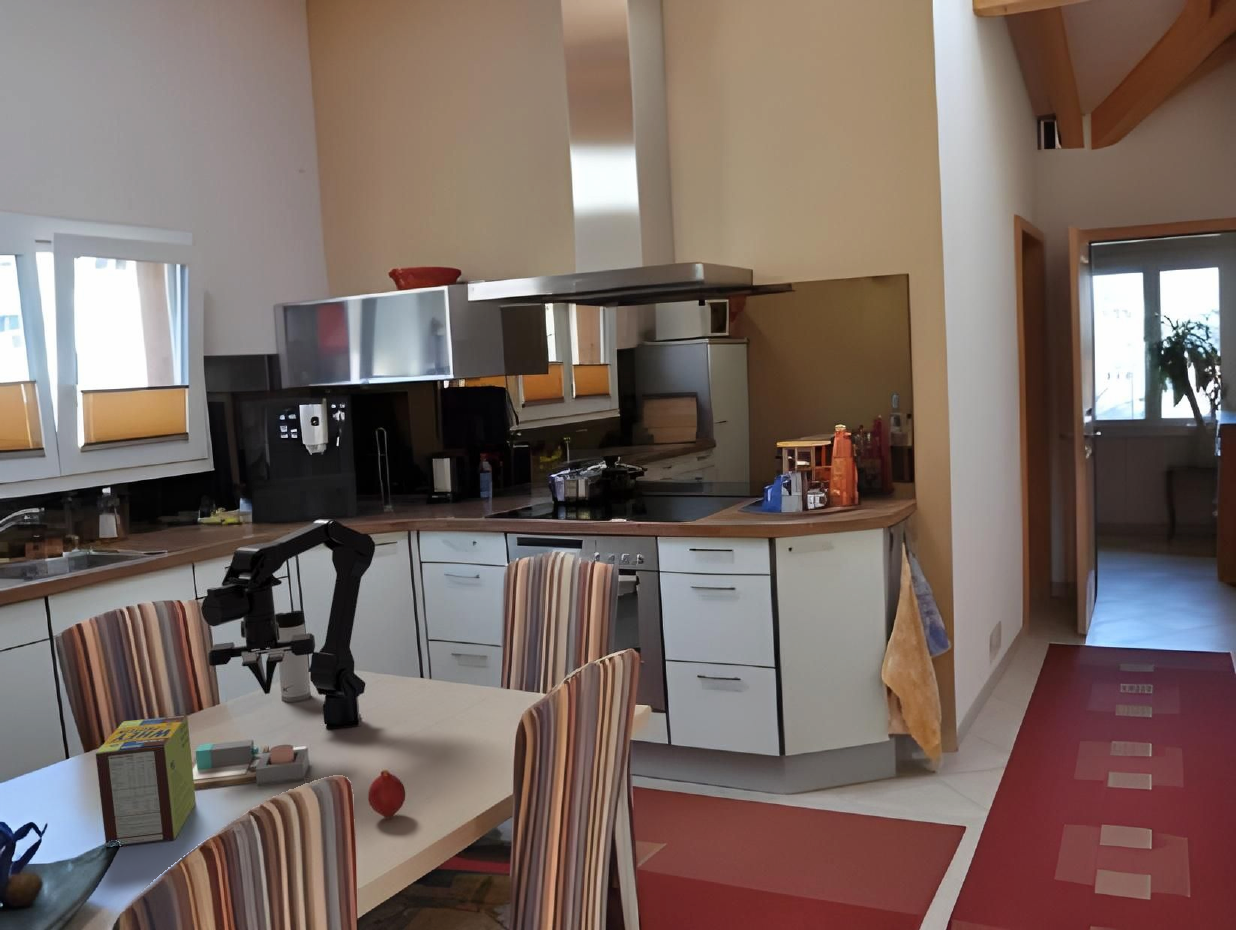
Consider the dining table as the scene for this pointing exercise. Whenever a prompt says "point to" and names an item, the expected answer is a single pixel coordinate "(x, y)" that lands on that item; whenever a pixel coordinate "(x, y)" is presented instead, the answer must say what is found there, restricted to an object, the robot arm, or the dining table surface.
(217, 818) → the dining table surface
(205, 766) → the block
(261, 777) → the button housing
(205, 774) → the clipboard
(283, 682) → the travel mug
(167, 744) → the protein box
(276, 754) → the button
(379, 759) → the dining table surface
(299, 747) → the card
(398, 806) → the onion
